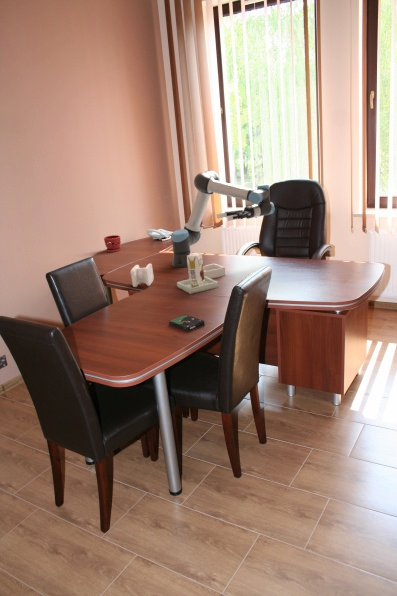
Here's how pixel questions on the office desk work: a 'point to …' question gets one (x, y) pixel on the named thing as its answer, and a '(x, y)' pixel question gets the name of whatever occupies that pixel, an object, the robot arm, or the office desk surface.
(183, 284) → the tray
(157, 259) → the office desk surface
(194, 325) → the disk drive
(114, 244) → the plant pot
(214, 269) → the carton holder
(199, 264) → the juice carton
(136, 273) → the cable organizer
